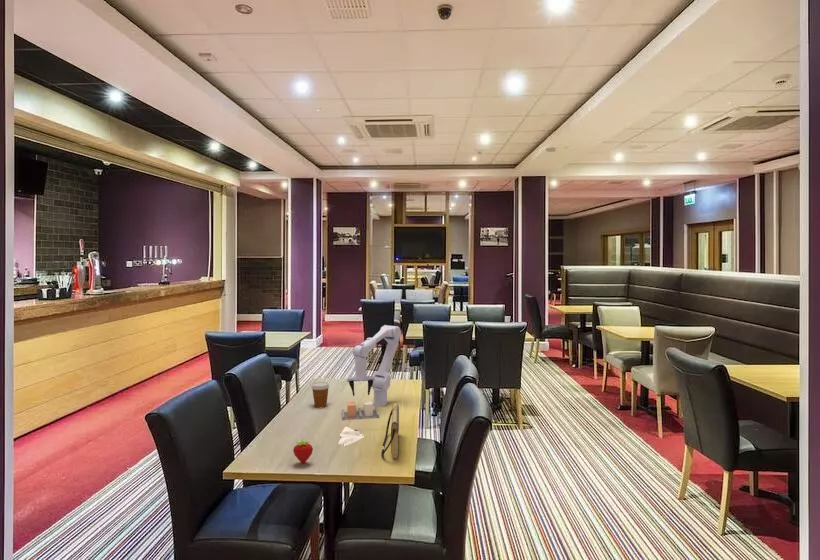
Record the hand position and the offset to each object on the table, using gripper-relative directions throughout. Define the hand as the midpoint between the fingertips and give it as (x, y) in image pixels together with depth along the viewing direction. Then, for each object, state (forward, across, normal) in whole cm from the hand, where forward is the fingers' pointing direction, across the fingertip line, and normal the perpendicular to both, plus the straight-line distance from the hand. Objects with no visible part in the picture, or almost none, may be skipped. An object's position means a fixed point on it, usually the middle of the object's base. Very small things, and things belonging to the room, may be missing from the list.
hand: (361, 395), depth 238 cm
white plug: (+8, +3, -6) cm, 11 cm away
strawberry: (+10, -26, -56) cm, 62 cm away
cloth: (+10, -7, -31) cm, 33 cm away
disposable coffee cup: (+10, -21, +16) cm, 28 cm away
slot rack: (+9, -1, -6) cm, 11 cm away
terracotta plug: (+8, -5, -6) cm, 12 cm away
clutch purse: (+10, +9, -46) cm, 48 cm away
